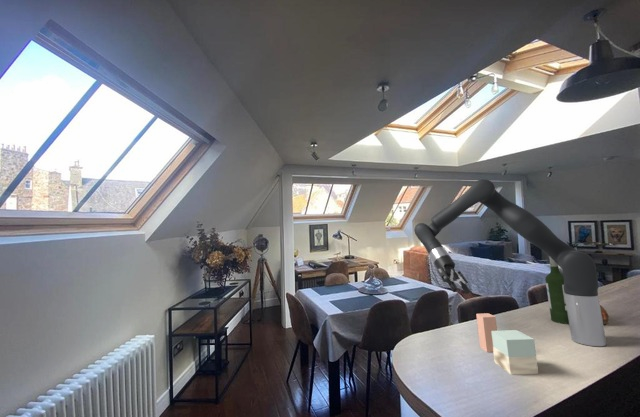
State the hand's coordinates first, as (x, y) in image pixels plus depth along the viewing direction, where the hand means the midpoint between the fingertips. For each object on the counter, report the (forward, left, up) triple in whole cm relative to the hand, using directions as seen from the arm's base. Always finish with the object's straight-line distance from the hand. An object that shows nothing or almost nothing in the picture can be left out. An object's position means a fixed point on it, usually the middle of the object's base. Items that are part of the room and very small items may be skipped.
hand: (462, 292), depth 108 cm
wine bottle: (-53, +10, -19) cm, 57 cm away
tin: (-63, +17, -19) cm, 68 cm away
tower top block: (+8, +21, -14) cm, 26 cm away
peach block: (+1, +9, -19) cm, 21 cm away
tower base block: (+8, +21, -19) cm, 29 cm away
